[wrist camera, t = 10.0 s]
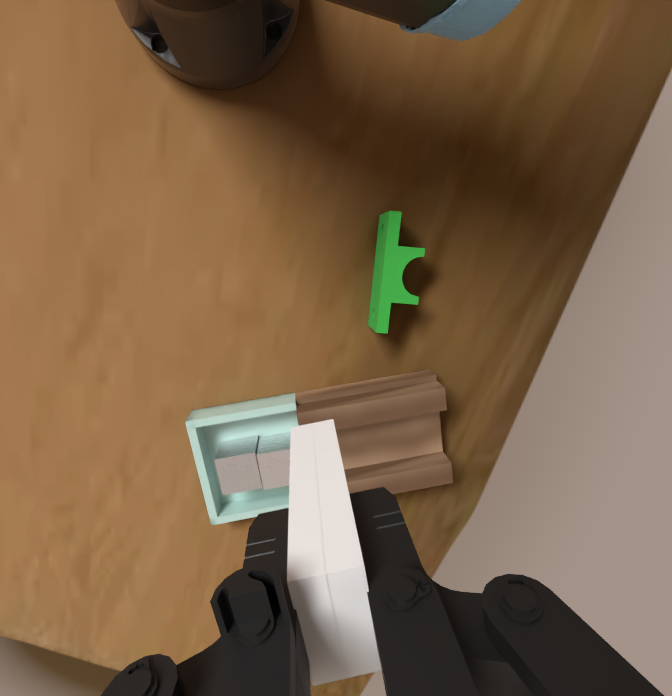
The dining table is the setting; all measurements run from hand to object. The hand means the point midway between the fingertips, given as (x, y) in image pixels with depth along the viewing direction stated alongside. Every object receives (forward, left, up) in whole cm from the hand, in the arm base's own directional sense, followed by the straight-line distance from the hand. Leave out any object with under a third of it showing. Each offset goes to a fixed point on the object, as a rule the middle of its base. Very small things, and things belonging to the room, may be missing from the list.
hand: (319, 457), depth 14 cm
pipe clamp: (-3, +10, -29) cm, 31 cm away
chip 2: (+14, -5, -28) cm, 32 cm away
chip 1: (+13, -9, -28) cm, 32 cm away
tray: (+14, -7, -29) cm, 33 cm away
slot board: (+14, +6, -29) cm, 32 cm away
